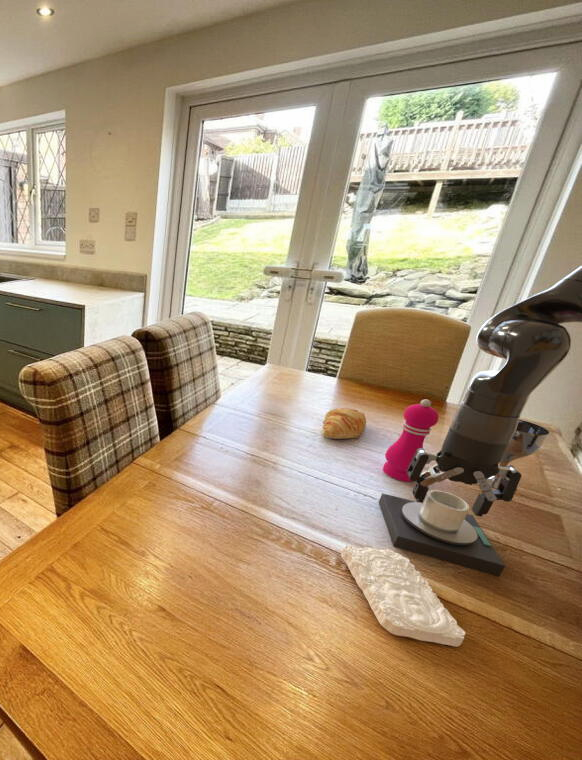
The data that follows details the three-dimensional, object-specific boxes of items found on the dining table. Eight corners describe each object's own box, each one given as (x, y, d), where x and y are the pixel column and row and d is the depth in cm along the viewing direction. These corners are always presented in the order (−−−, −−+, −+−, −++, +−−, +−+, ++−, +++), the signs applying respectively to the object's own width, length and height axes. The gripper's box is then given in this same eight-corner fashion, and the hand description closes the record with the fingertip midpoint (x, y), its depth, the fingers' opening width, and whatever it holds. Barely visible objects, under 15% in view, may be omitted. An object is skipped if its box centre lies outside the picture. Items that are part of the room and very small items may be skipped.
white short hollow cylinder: (452, 516, 77) (462, 495, 75) (464, 536, 72) (475, 514, 70) (415, 506, 79) (423, 486, 77) (423, 525, 74) (433, 504, 72)
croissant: (330, 455, 109) (352, 439, 103) (302, 427, 114) (321, 410, 108) (365, 433, 120) (386, 417, 114) (338, 408, 125) (357, 392, 119)
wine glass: (516, 496, 88) (548, 438, 82) (469, 479, 94) (495, 424, 88) (520, 483, 93) (550, 427, 87) (474, 467, 99) (500, 414, 93)
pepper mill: (388, 480, 93) (417, 404, 86) (374, 463, 100) (400, 391, 92) (424, 485, 92) (456, 408, 84) (407, 467, 98) (436, 394, 91)
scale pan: (463, 514, 78) (464, 512, 78) (487, 553, 69) (488, 551, 69) (395, 498, 83) (396, 496, 82) (409, 532, 73) (410, 530, 73)
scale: (467, 524, 80) (473, 513, 79) (499, 576, 68) (506, 564, 67) (378, 502, 86) (382, 491, 85) (393, 546, 74) (398, 534, 73)
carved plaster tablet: (401, 561, 71) (407, 548, 70) (466, 650, 56) (475, 634, 55) (336, 552, 72) (341, 539, 71) (383, 636, 58) (390, 621, 57)
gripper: (525, 431, 68) (487, 506, 74) (422, 414, 74) (395, 485, 80) (549, 452, 62) (506, 532, 68) (434, 431, 68) (404, 507, 74)
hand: (446, 506), depth 74 cm, fingers open, 8 cm apart
